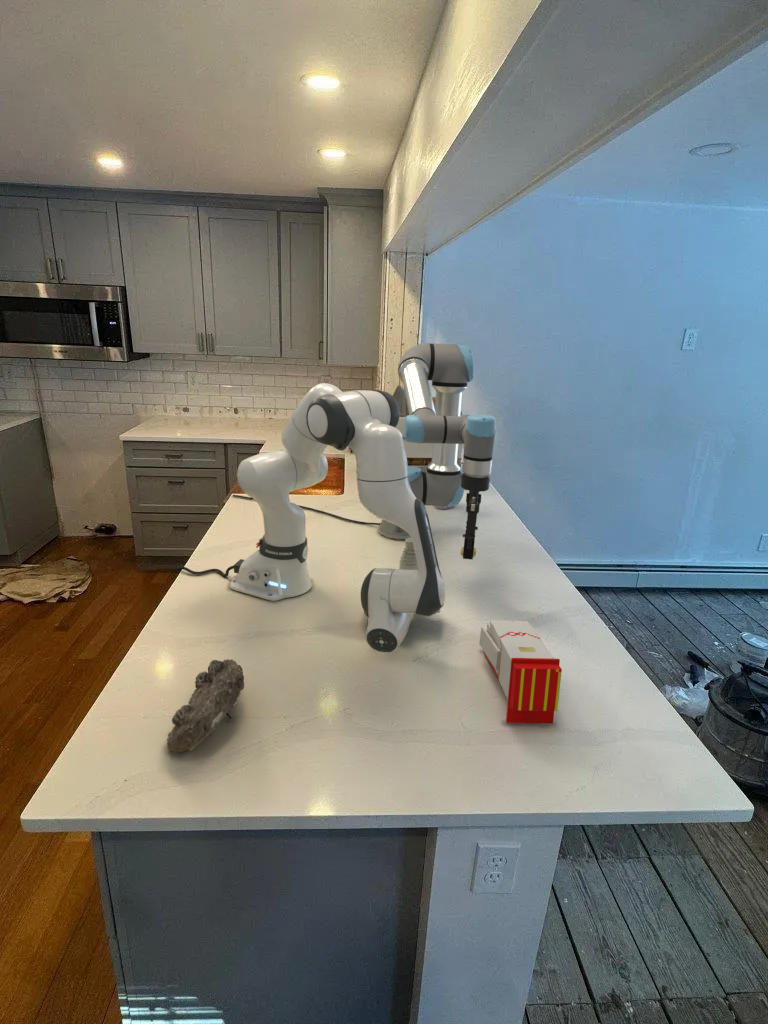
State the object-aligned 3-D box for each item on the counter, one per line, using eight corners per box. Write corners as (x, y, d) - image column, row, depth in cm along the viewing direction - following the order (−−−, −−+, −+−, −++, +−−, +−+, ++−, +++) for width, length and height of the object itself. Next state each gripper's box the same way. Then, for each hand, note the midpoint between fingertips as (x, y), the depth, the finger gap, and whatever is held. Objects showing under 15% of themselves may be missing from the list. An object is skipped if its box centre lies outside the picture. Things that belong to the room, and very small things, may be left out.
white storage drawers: (382, 463, 289) (386, 382, 275) (445, 464, 293) (451, 384, 279) (390, 482, 257) (394, 392, 243) (460, 483, 261) (468, 394, 247)
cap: (478, 556, 157) (479, 550, 156) (466, 558, 155) (466, 552, 154) (470, 551, 160) (470, 545, 160) (457, 553, 158) (458, 547, 158)
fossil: (192, 660, 117) (244, 628, 112) (224, 691, 120) (276, 661, 115) (142, 746, 98) (202, 712, 93) (182, 779, 101) (242, 748, 96)
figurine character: (360, 456, 306) (360, 446, 319) (360, 443, 303) (361, 433, 316) (347, 455, 306) (348, 446, 319) (348, 442, 302) (349, 433, 316)
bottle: (414, 611, 149) (419, 544, 143) (395, 608, 150) (399, 542, 144) (418, 602, 154) (422, 537, 147) (399, 599, 155) (403, 534, 148)
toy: (526, 605, 135) (570, 665, 105) (521, 658, 137) (563, 730, 108) (475, 604, 134) (506, 664, 105) (472, 657, 137) (500, 729, 108)
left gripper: (440, 602, 135) (448, 577, 147) (358, 589, 139) (372, 566, 152) (438, 625, 137) (446, 599, 150) (357, 612, 141) (372, 587, 154)
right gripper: (463, 465, 158) (456, 542, 166) (460, 481, 142) (452, 566, 150) (490, 467, 157) (481, 545, 165) (490, 484, 141) (481, 569, 149)
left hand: (408, 582), depth 151 cm, fingers closed on bottle, 5 cm apart
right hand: (468, 555), depth 158 cm, fingers closed on cap, 4 cm apart
